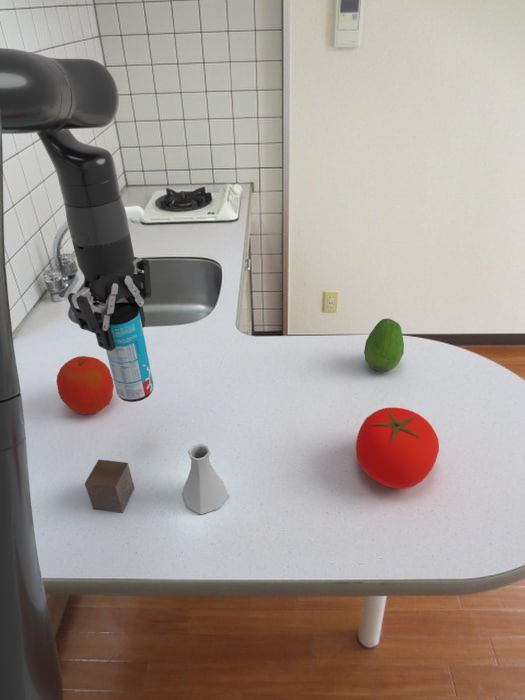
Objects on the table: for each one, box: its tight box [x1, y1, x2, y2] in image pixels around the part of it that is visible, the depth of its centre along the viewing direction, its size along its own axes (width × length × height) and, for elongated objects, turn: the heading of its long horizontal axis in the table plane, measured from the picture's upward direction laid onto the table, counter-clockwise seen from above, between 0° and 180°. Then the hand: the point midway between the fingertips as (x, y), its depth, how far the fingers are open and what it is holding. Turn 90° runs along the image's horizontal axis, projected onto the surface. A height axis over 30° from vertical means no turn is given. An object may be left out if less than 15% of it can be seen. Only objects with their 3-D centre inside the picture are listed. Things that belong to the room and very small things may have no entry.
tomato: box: [355, 407, 440, 489], centre depth 84 cm, size 14×13×10 cm
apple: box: [56, 355, 115, 415], centre depth 100 cm, size 10×10×12 cm
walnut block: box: [84, 459, 135, 514], centre depth 83 cm, size 5×5×6 cm
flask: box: [181, 443, 230, 515], centre depth 81 cm, size 7×7×10 cm
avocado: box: [363, 317, 405, 372], centre depth 107 cm, size 8×8×12 cm
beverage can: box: [99, 301, 154, 403], centre depth 81 cm, size 6×6×15 cm
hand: (123, 337), depth 79 cm, fingers closed on beverage can, 6 cm apart
